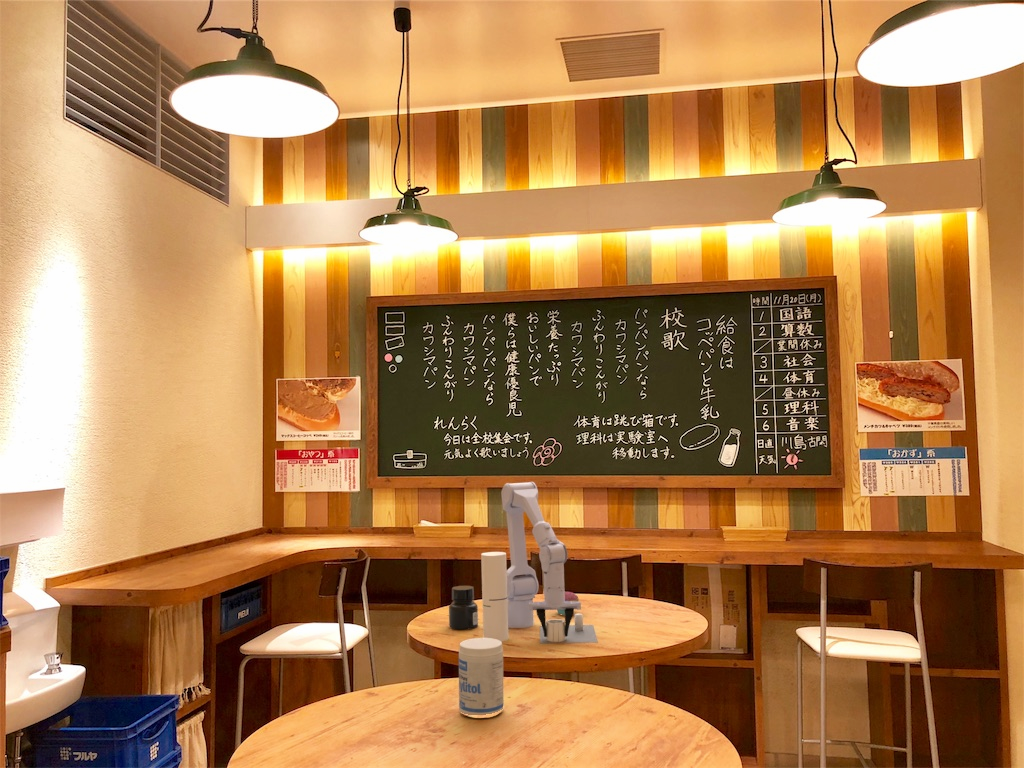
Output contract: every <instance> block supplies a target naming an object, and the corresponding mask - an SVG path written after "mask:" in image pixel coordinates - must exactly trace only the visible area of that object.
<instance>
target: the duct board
mask: <svg viewBox="0 0 1024 768" xmlns="http://www.w3.org/2000/svg"><path fill="white" fill-rule="evenodd" d="M587 643H588V644H589V643H590V644H591V643H599V641H598V637H597V634H596V630H595V626H594V624H584V615H583V613H574V624H573V625H572V624H570V625H569V629H568V636H565V640H564V641H560V642H551V641H547V637H544V631H543V628H542V625H539V644H542V645H543V644H545V645H546V644H548V645H549V644H587Z"/></svg>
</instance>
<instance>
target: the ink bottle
mask: <svg viewBox="0 0 1024 768" xmlns="http://www.w3.org/2000/svg"><path fill="white" fill-rule="evenodd" d="M474 590H475V589H474V586H471V585H458V586H453V587H452V588H451V600H452V602H451V604H450V605H449V606H448V619H449V621H448V625H449V628H451V629H452V630H457V631H465V630H466V631H467V630H472V629H476V628H478V626H479V612H478V611H479V609H478V604H477V603H476V602H475V601H474V600H475V591H474Z"/></svg>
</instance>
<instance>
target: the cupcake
mask: <svg viewBox="0 0 1024 768" xmlns="http://www.w3.org/2000/svg"><path fill="white" fill-rule="evenodd" d="M564 590H565V588H564ZM579 600H580V599H579V596H578V595H577V594H575V593H574V592H572V591H565V601H579ZM557 614H558V615H559V614H562V615H561V616H565V609H564V610H557Z"/></svg>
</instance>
